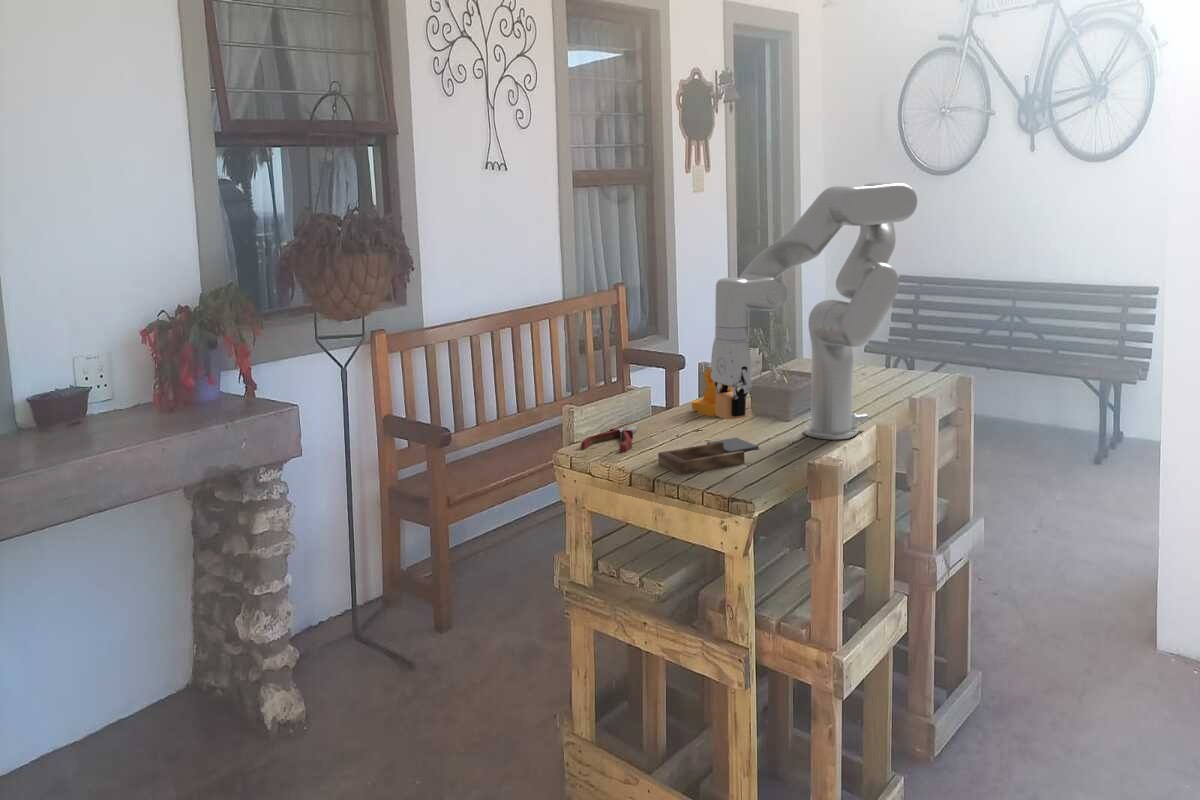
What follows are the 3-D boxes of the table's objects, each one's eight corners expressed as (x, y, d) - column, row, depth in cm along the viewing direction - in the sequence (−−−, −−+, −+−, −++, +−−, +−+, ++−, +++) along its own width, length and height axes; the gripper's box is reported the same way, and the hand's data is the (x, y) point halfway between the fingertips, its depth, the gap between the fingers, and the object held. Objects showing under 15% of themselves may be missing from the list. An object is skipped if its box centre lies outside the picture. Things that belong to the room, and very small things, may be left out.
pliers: (655, 433, 253) (654, 422, 253) (625, 455, 235) (625, 444, 235) (611, 430, 258) (611, 420, 257) (579, 451, 240) (578, 440, 239)
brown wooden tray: (720, 452, 233) (720, 442, 232) (744, 463, 225) (744, 451, 224) (658, 463, 226) (658, 452, 226) (680, 474, 218) (680, 463, 217)
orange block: (734, 412, 239) (734, 391, 238) (745, 417, 234) (746, 395, 233) (715, 414, 237) (715, 393, 236) (726, 419, 232) (726, 397, 231)
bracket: (690, 411, 272) (689, 366, 269) (708, 406, 277) (708, 362, 274) (721, 418, 264) (721, 372, 261) (740, 413, 269) (740, 367, 266)
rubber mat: (736, 440, 243) (736, 437, 243) (758, 448, 235) (758, 446, 235) (707, 444, 240) (707, 442, 240) (728, 454, 232) (728, 451, 232)
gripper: (697, 330, 237) (697, 407, 241) (739, 340, 222) (738, 423, 226) (725, 327, 241) (724, 404, 245) (768, 337, 226) (766, 419, 230)
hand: (731, 412), depth 235 cm, fingers closed on orange block, 5 cm apart
